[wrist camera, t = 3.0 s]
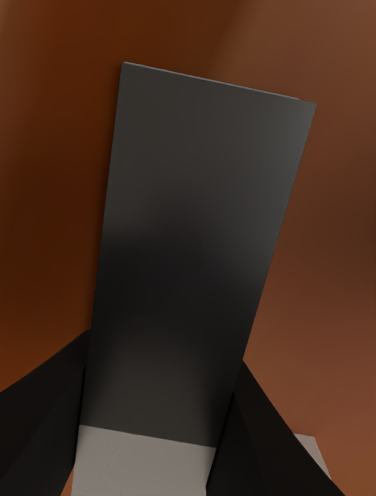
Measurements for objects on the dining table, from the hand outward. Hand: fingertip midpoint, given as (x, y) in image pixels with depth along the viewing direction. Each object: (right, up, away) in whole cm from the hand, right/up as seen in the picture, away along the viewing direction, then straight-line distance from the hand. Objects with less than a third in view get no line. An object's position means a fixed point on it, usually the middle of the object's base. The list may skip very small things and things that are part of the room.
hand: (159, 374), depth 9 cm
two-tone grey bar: (0, +1, +2) cm, 2 cm away
